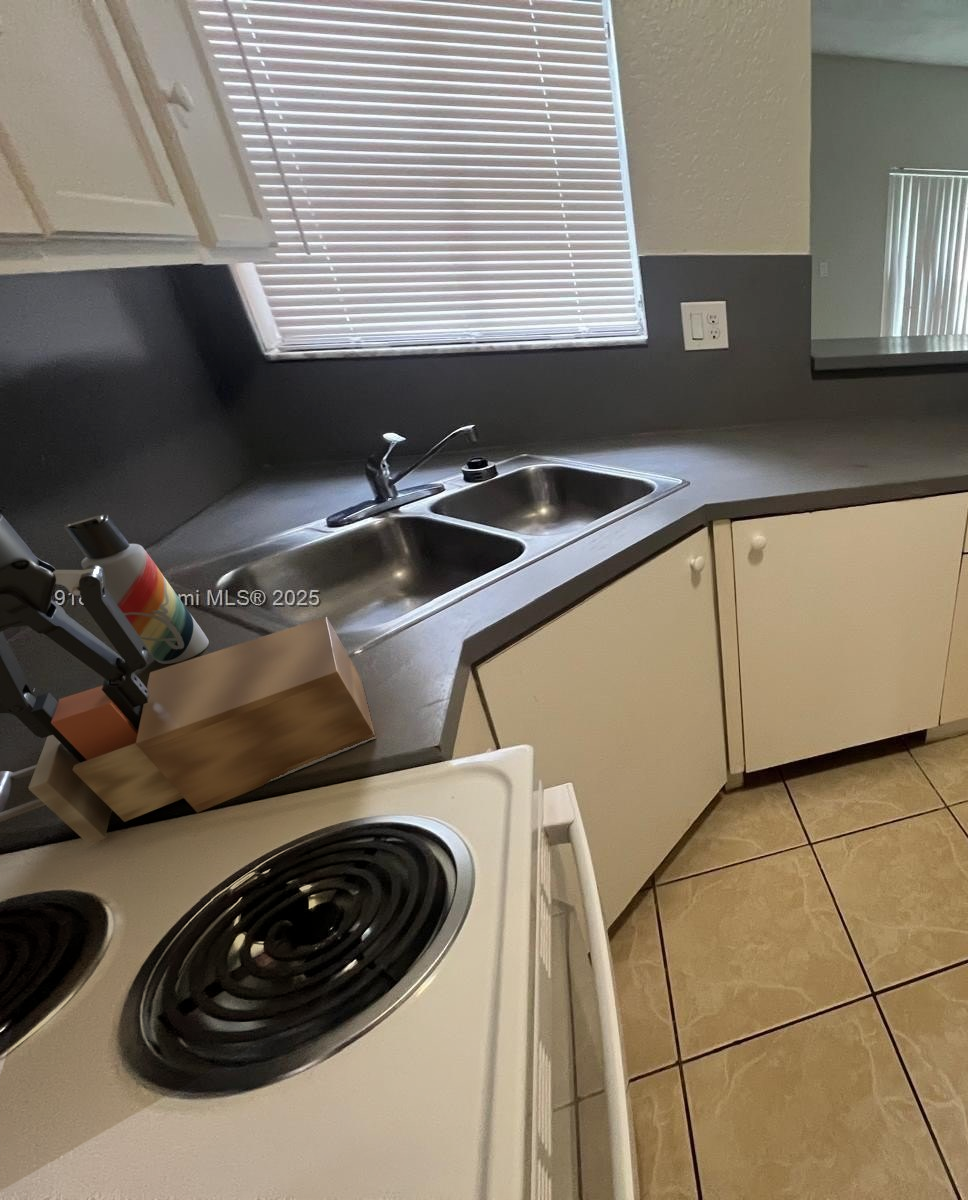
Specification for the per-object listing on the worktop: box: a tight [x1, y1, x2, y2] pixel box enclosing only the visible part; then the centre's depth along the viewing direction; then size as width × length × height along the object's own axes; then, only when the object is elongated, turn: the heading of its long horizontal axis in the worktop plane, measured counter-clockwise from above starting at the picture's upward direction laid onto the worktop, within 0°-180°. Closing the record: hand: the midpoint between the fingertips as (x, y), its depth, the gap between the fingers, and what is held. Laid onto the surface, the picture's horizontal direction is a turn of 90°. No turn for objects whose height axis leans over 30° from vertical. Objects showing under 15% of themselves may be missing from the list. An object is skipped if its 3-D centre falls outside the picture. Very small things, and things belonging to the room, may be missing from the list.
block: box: [51, 684, 138, 760], centre depth 60 cm, size 4×4×6 cm
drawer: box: [0, 735, 184, 845], centre depth 62 cm, size 20×12×8 cm, turn 127°
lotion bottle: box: [64, 513, 210, 665], centre depth 79 cm, size 6×6×20 cm
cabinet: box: [136, 616, 376, 814], centre depth 67 cm, size 16×13×10 cm
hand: (120, 740), depth 61 cm, fingers closed on block, 4 cm apart
